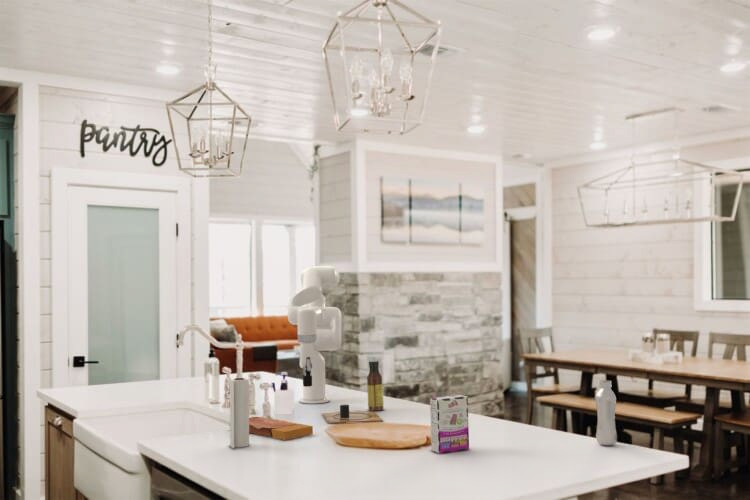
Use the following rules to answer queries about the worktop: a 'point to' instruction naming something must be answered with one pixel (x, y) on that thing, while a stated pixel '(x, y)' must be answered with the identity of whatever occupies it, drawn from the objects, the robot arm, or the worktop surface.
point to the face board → (353, 417)
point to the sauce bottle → (374, 387)
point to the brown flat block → (278, 428)
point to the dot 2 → (344, 411)
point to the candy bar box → (449, 423)
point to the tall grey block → (239, 412)
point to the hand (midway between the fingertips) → (307, 384)
